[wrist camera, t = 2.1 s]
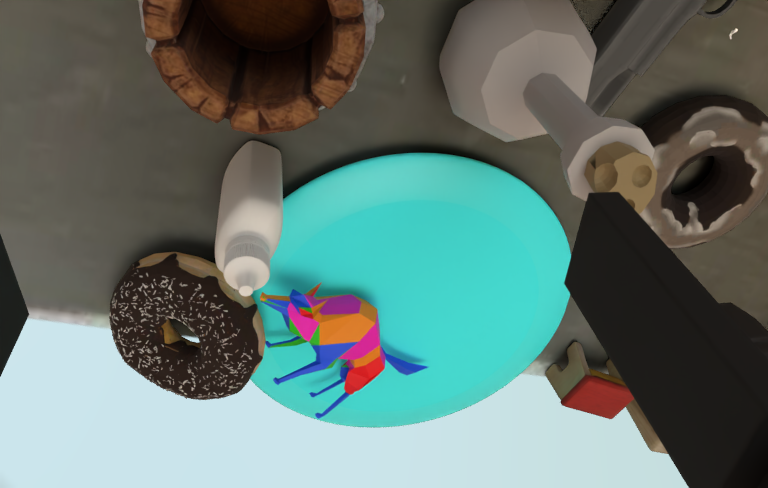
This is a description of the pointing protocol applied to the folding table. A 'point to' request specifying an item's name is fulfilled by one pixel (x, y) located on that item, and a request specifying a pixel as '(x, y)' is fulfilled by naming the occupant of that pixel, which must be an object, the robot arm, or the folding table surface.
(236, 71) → the mug
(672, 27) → the handgun
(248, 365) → the donut
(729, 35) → the card
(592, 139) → the potion bottle
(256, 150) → the eye dropper bottle
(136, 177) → the folding table surface
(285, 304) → the figurine
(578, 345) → the dollhouse furniture set
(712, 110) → the donut
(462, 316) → the frisbee
